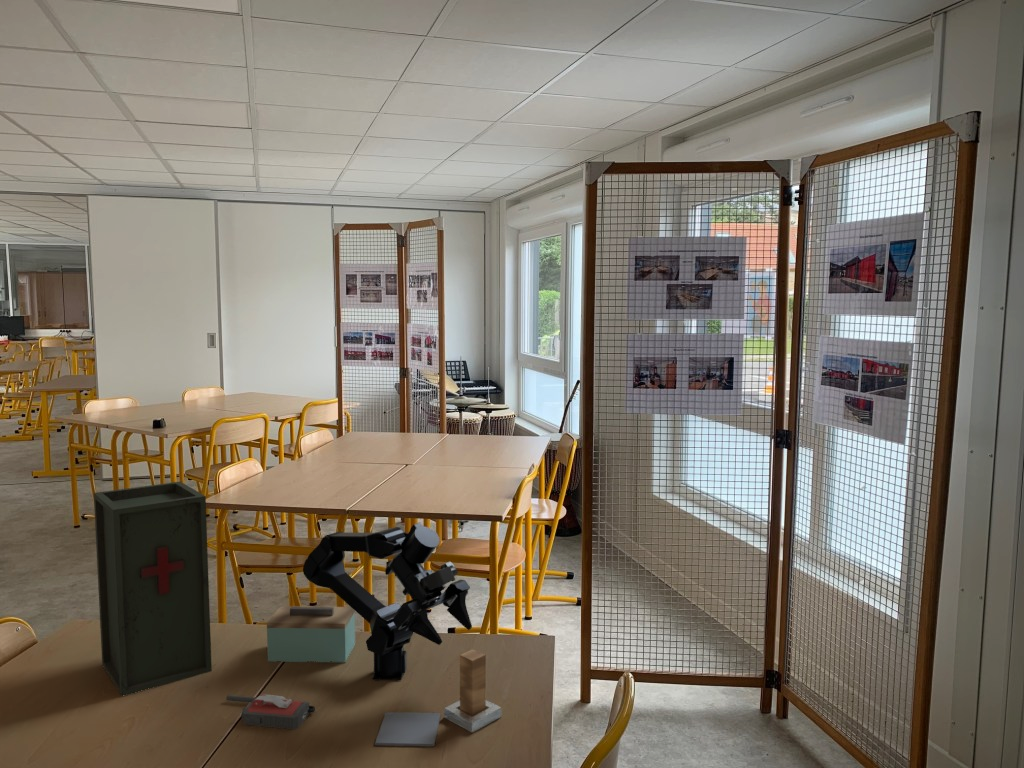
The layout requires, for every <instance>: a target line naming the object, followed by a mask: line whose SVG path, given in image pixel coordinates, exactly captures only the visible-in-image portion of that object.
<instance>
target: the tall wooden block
mask: <svg viewBox="0 0 1024 768" xmlns="http://www.w3.org/2000/svg"><path fill="white" fill-rule="evenodd" d="M486 658H487V657H486V654H485V653H482V652H481V651H478V650H475V649H474V648H473V649H470V650H468V651H466V652H464V653H461V654H460V655H459V701H460V710H461V711H463V712H464V713H466V714H468V715H470V716H472V717H473V716H475V715H477V714H479V713H480V712H482V711H484V710H486V700H487V697H486V696H487V695H486V693H487V692H486V681H487V679H486V672H487V671H486V670H487V669H486V666H487V663H486V661H487V659H486Z"/></svg>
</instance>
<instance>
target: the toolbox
mask: <svg viewBox="0 0 1024 768" xmlns="http://www.w3.org/2000/svg"><path fill="white" fill-rule="evenodd" d="M355 613H356V611H355V610H354V609H353V608H352V607H350V606H307V605H306V606H305V605H304V606H302V605H301V606H300V605H299V606H297V605H292V606H290V605H281V606H279V607H278V609H277V610H276V611H275V613H274V614H273V615H272V616H271V617H270V619H269V620H268V621H267V622H266V638H267V639H266V643H267V647H266V648H267V662H277V661H281V662H280V663H282V662H283V663H284V662H285V663H286V662H287V663H289V662H290V663H291V662H293V663H298V662H299V663H311V662H310V661H314V662H313V663H330V662H329V661H332V662H331V663H346V662H347V661H348V659H349V657H348V656H350V655H351V653H352V651H353V649H354V647H355V645H356V614H355ZM349 654H350V655H349ZM347 658H348V659H347ZM346 660H347V661H346ZM307 661H309V662H307ZM315 661H316V662H315ZM317 661H318V662H317Z"/></svg>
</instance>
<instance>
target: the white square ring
mask: <svg viewBox="0 0 1024 768" xmlns="http://www.w3.org/2000/svg"><path fill="white" fill-rule="evenodd" d="M443 710H444V713H443V714H444V716H443V717H444V719H446V720H448V721H450V722H452V723H454V724H455V725H457V726H459V727H461V728H463V729H465V730H466V731H468V732H470V733H472V734H473V733H475V732H477V731H478V730H481V729H482V728H484V727H486V726H487V725H489V724H491V723H493V722H494V721H496V720H499V719H500V718H502V707H501V706H499V705H497V704H496V703H493V702H490V701H489V700H487V699H486V710H484V711H482V712H480V713H479V714H477V715H475V716H473V717H472V716H470V715H468V714H466V713H464V712H463V711H461V710H460V700H457V701H456V702H454V703H452V704H449V705H448V706H446V707H444V709H443Z"/></svg>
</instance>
